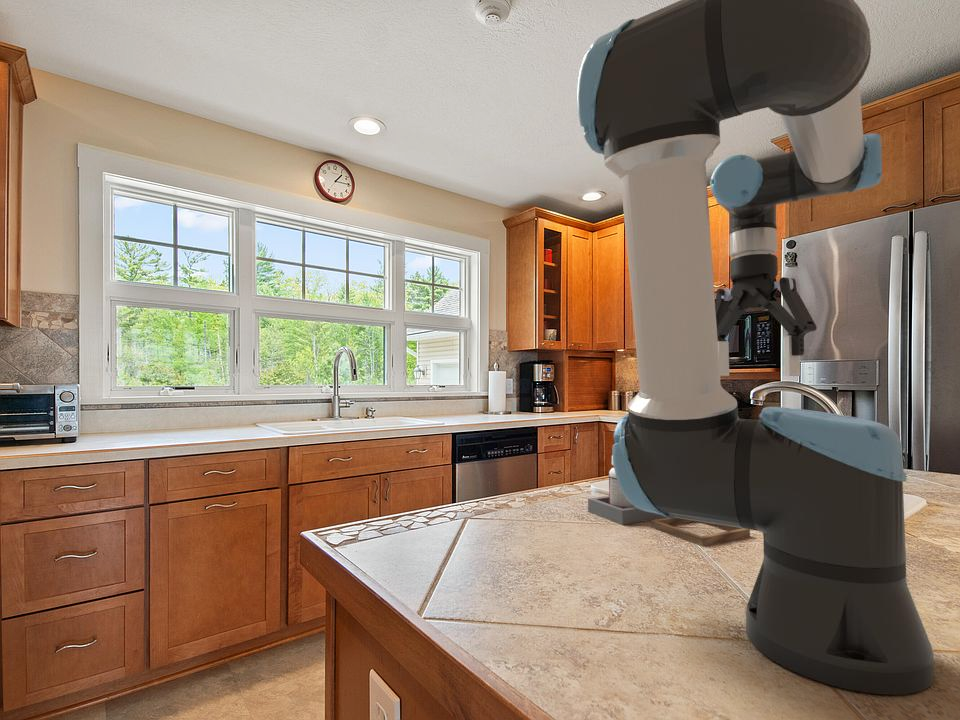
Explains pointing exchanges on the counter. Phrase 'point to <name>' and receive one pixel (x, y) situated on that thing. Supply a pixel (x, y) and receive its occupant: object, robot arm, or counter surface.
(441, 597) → the counter surface
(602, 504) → the grey shallow tray
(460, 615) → the counter surface
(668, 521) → the walnut frame
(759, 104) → the robot arm
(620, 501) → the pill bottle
